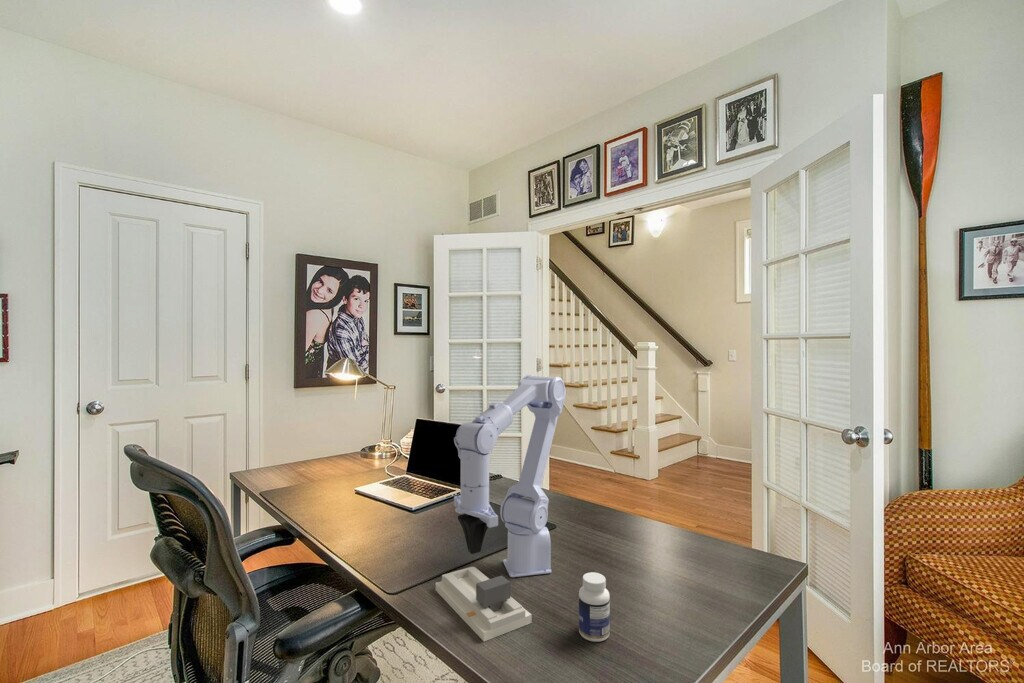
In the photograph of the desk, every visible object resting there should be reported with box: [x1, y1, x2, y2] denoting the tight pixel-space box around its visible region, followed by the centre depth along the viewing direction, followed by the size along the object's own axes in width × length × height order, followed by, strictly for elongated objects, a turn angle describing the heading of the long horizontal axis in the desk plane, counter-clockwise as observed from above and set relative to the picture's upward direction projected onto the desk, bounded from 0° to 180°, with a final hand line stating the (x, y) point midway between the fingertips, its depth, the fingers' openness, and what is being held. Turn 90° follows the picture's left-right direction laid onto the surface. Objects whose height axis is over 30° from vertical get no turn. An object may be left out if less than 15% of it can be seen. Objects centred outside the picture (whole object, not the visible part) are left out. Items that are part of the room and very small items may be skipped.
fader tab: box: [476, 575, 511, 611], centre depth 87 cm, size 3×6×5 cm, turn 123°
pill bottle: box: [578, 571, 611, 643], centre depth 82 cm, size 5×5×10 cm
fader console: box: [435, 566, 533, 642], centre depth 91 cm, size 20×10×3 cm, turn 33°
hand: (474, 551), depth 93 cm, fingers closed
